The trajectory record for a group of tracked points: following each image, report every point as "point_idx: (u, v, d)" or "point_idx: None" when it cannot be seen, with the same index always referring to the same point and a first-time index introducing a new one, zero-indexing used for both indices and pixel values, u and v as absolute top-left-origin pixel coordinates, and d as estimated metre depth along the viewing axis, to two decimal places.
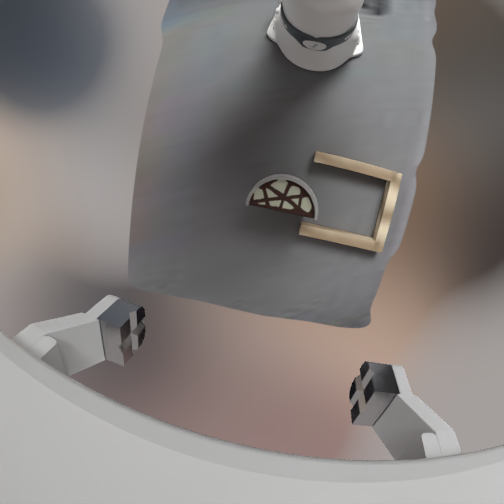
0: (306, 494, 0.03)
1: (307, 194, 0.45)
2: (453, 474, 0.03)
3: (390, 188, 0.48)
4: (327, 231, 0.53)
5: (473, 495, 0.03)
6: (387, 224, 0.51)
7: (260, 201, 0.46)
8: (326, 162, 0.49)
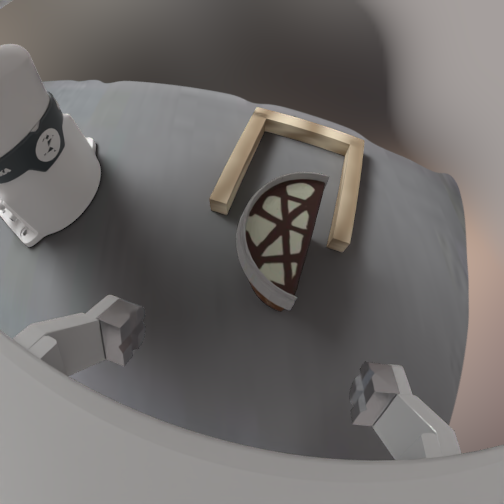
0: (306, 494, 0.03)
1: (281, 185, 0.24)
2: (453, 474, 0.03)
3: (276, 119, 0.36)
4: (342, 200, 0.32)
5: (473, 495, 0.03)
6: (325, 128, 0.36)
7: (289, 271, 0.21)
8: (230, 187, 0.32)
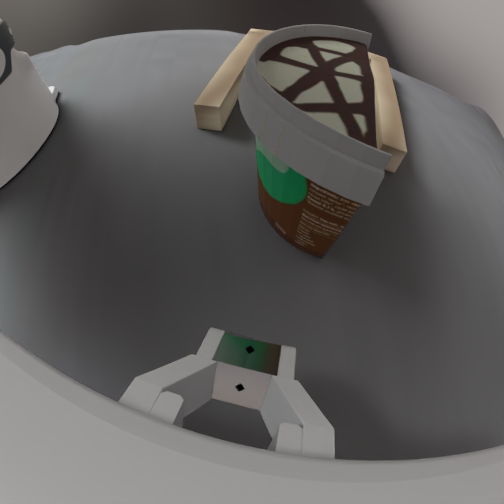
0: (306, 494, 0.03)
1: (304, 39, 0.12)
2: (453, 474, 0.03)
3: None
4: (381, 105, 0.20)
5: (473, 495, 0.03)
6: None
7: (354, 125, 0.09)
8: (224, 90, 0.20)
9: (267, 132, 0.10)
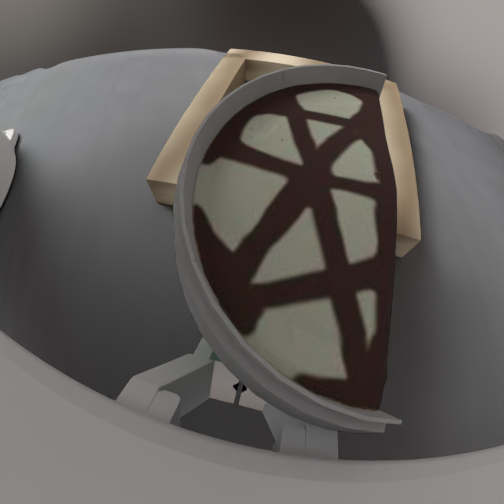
0: (306, 494, 0.03)
1: (283, 94, 0.09)
2: (453, 474, 0.03)
3: (260, 59, 0.21)
4: (392, 164, 0.16)
5: (473, 495, 0.03)
6: None
7: (356, 325, 0.06)
8: (185, 154, 0.16)
9: (210, 341, 0.06)
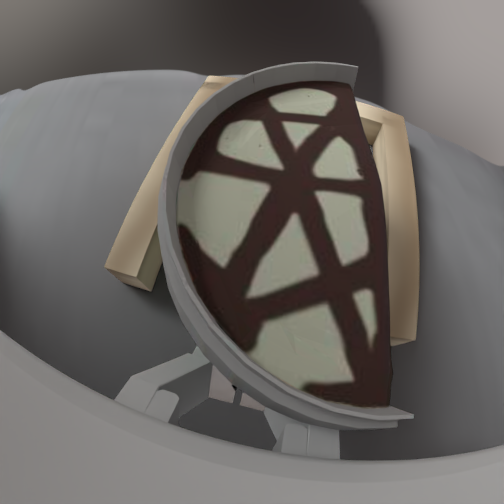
0: (306, 494, 0.03)
1: (255, 98, 0.09)
2: (453, 474, 0.03)
3: None
4: (392, 239, 0.14)
5: (473, 495, 0.03)
6: None
7: (356, 326, 0.06)
8: (146, 235, 0.14)
9: (213, 359, 0.06)
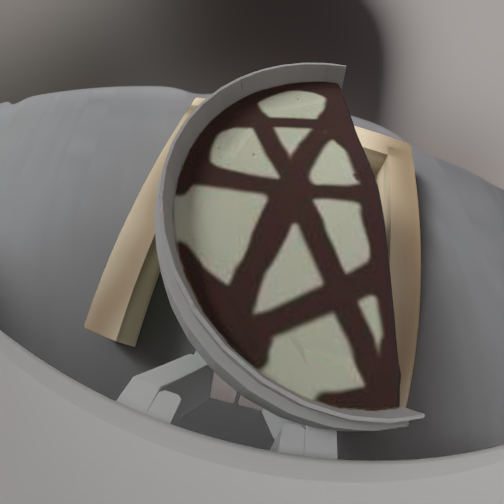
0: (306, 494, 0.03)
1: (244, 103, 0.09)
2: (453, 474, 0.03)
3: None
4: None
5: (473, 496, 0.03)
6: None
7: (363, 333, 0.06)
8: (124, 296, 0.13)
9: (224, 376, 0.06)
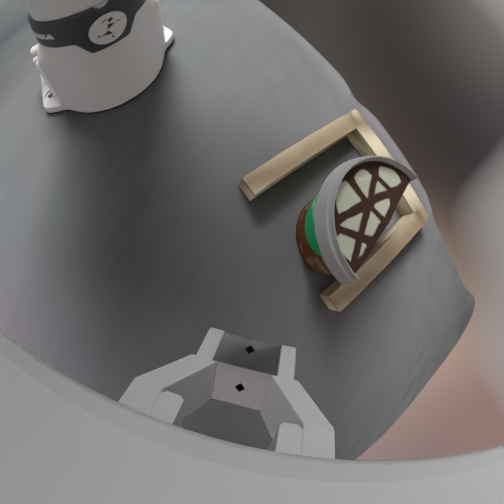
0: (306, 494, 0.03)
1: (375, 163, 0.22)
2: (453, 474, 0.03)
3: (364, 136, 0.29)
4: (365, 265, 0.28)
5: (473, 496, 0.03)
6: None
7: (358, 250, 0.21)
8: (271, 179, 0.27)
9: (320, 234, 0.21)
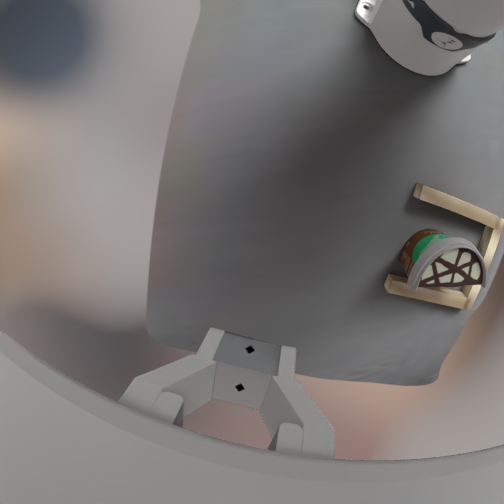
0: (306, 494, 0.03)
1: (477, 259, 0.27)
2: (453, 474, 0.03)
3: (492, 237, 0.32)
4: (421, 288, 0.37)
5: (473, 495, 0.03)
6: None
7: (429, 280, 0.30)
8: (433, 201, 0.32)
9: (425, 255, 0.29)
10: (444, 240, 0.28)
